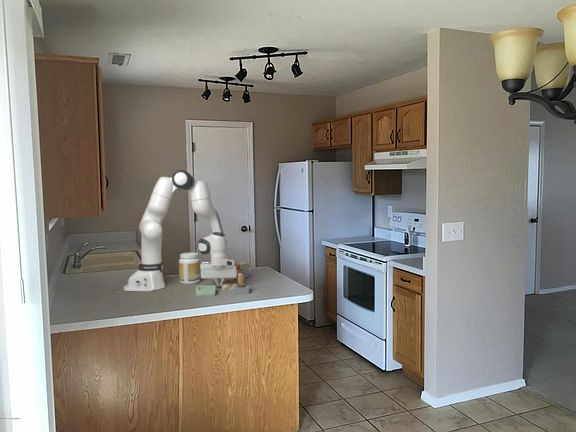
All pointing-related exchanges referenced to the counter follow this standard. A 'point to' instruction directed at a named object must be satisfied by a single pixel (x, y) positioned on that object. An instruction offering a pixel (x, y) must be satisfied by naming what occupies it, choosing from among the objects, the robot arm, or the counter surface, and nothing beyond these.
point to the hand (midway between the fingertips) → (219, 285)
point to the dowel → (240, 280)
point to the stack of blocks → (238, 270)
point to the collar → (241, 289)
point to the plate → (228, 286)
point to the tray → (206, 290)
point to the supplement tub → (189, 268)
